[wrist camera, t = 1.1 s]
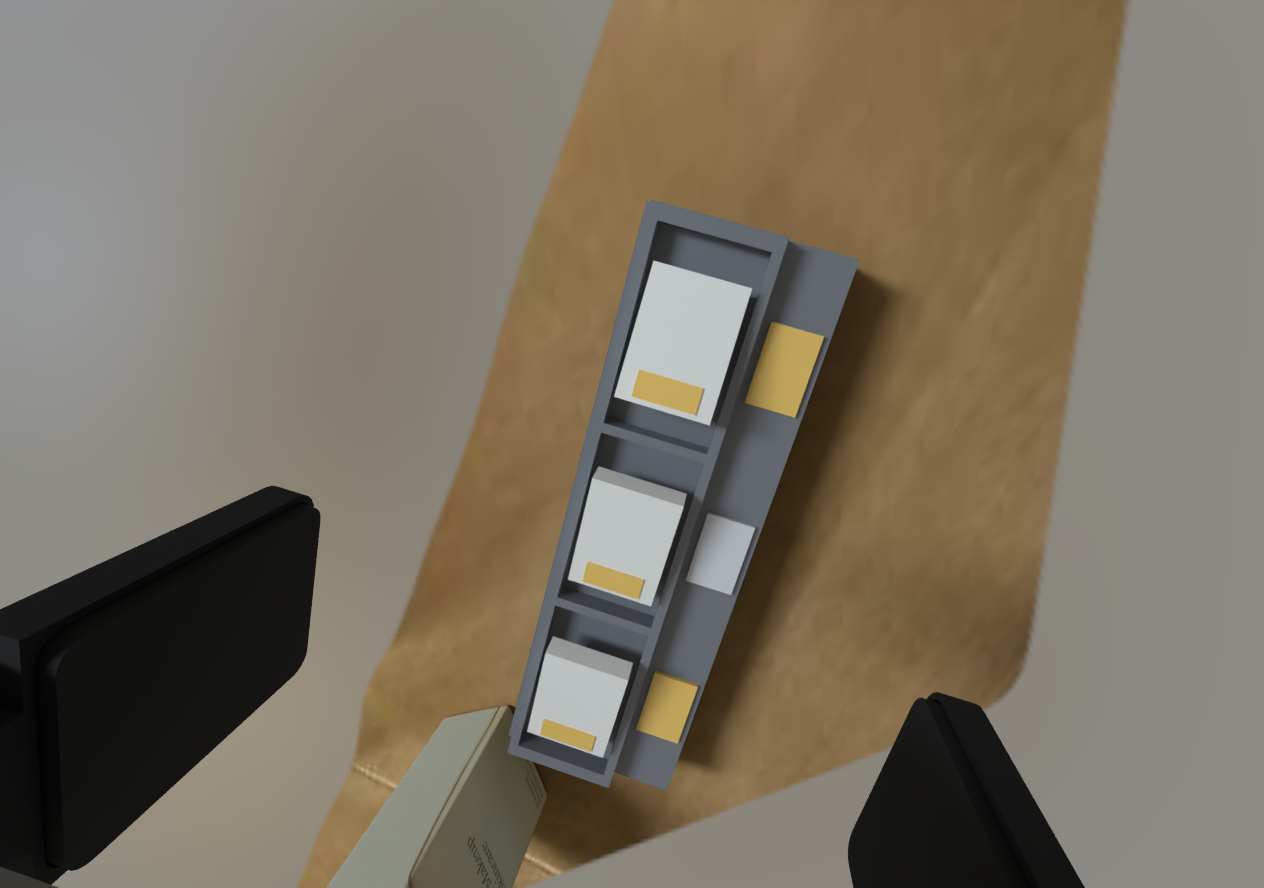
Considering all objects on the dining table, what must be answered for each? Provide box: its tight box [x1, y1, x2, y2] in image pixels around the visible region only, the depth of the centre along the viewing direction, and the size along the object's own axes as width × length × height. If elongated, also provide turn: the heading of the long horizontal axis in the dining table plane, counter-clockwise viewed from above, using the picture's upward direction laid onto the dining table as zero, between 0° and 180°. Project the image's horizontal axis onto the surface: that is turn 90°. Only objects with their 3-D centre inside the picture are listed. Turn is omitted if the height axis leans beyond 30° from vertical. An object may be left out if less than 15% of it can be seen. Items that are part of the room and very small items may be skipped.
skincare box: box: [327, 706, 547, 888], centre depth 28 cm, size 6×4×12 cm
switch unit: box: [507, 200, 860, 790], centre depth 27 cm, size 25×8×4 cm, turn 165°
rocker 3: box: [527, 636, 633, 758], centre depth 27 cm, size 5×4×1 cm
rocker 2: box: [568, 467, 687, 606], centre depth 24 cm, size 5×4×1 cm
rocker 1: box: [614, 261, 752, 425], centre depth 22 cm, size 5×4×1 cm
